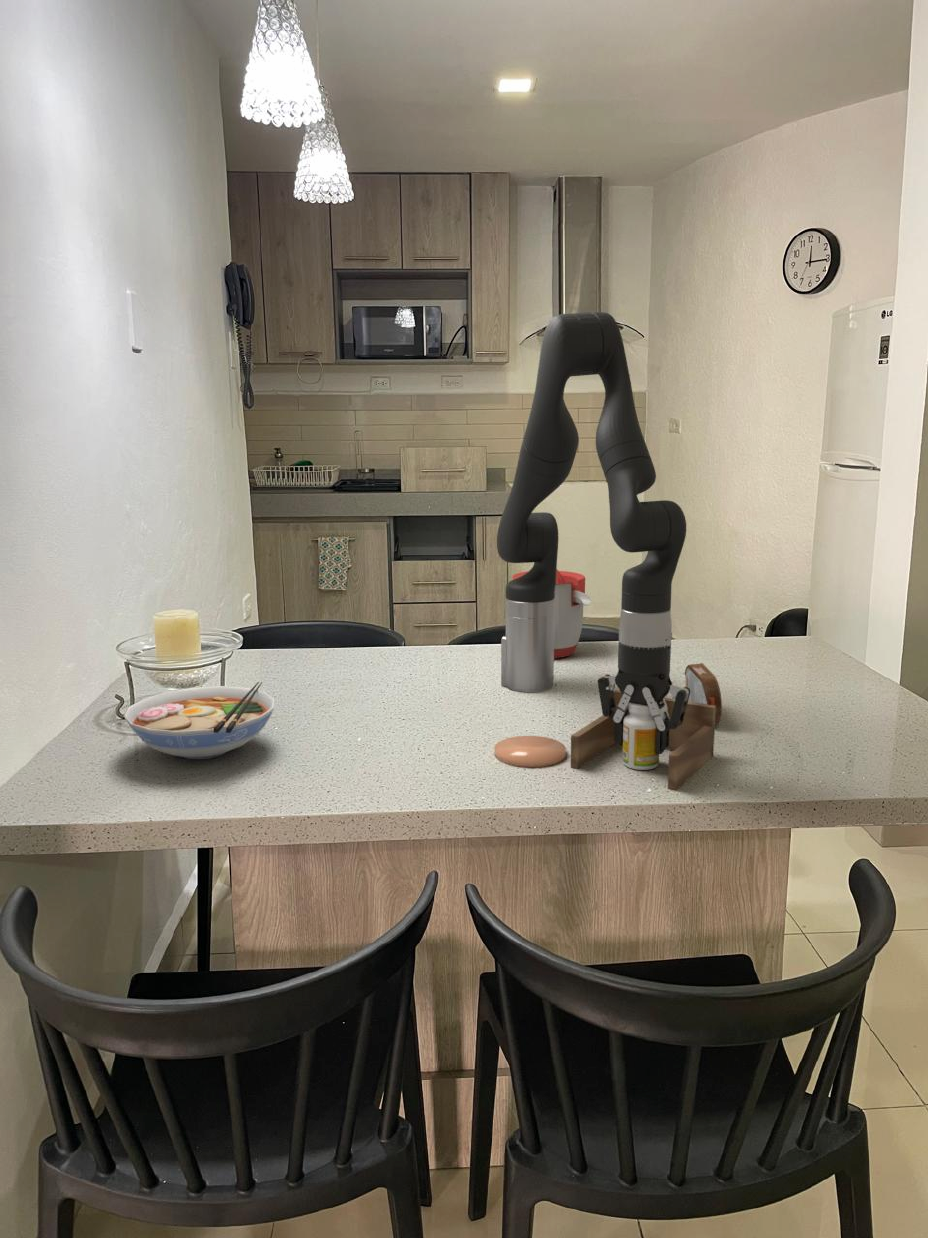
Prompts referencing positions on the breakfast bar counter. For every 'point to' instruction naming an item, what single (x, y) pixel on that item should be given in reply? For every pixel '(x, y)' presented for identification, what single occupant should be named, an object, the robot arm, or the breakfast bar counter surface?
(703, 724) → the cubby
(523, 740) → the coaster
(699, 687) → the tin
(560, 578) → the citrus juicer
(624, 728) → the supplement bottle
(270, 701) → the ramen bowl
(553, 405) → the robot arm
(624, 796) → the breakfast bar counter surface
